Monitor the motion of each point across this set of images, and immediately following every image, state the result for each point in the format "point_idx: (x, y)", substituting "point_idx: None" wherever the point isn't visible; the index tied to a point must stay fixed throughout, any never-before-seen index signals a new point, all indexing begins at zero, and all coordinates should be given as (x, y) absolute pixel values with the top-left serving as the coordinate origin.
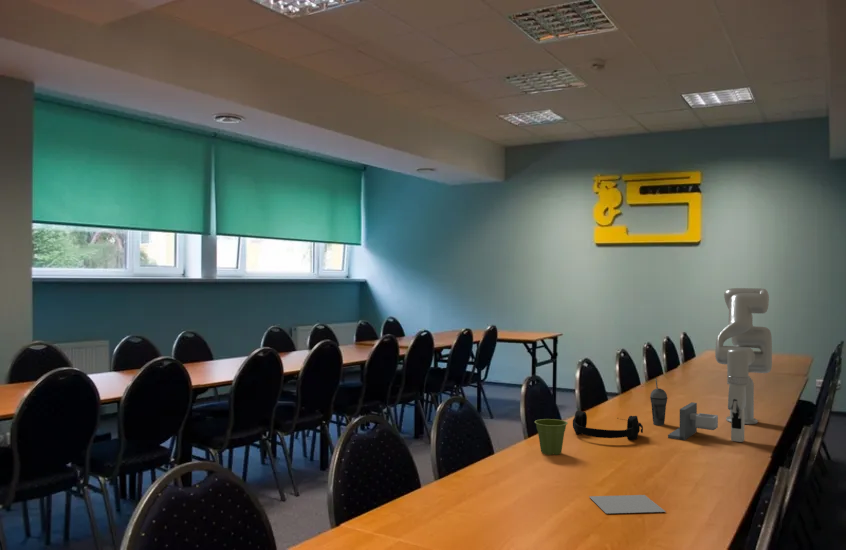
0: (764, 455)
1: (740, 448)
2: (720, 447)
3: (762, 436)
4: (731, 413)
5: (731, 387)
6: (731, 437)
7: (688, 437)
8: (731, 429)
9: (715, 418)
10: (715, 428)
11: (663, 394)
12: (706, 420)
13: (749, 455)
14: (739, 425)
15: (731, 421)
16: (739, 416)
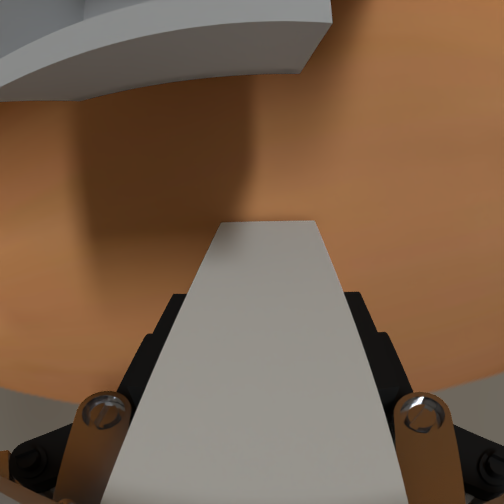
0: (59, 398)
1: (73, 311)
2: (11, 212)
3: (484, 342)
4: (124, 442)
5: None
6: (217, 234)
7: None
8: (202, 268)
9: (90, 61)
10: (161, 82)
11: None
12: (15, 4)
13: (11, 352)
14: None
15: (171, 330)
16: None
